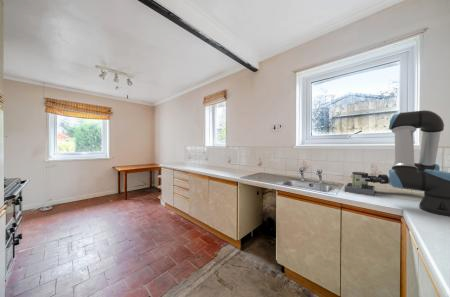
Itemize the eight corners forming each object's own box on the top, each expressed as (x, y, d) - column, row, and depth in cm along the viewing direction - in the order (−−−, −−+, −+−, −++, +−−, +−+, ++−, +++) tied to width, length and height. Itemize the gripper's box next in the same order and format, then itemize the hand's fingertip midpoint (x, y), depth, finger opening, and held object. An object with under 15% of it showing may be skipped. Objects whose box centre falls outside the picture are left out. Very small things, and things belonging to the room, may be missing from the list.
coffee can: (366, 189, 139) (366, 172, 138) (369, 192, 130) (369, 174, 130) (351, 187, 144) (351, 171, 144) (353, 190, 135) (353, 173, 135)
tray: (374, 190, 137) (374, 185, 137) (373, 195, 124) (373, 190, 124) (347, 186, 150) (347, 182, 150) (344, 191, 137) (344, 186, 136)
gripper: (398, 187, 120) (363, 186, 125) (375, 180, 145) (347, 179, 150) (398, 177, 120) (364, 176, 125) (375, 172, 144) (348, 171, 149)
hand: (355, 178), depth 137 cm, fingers open, 13 cm apart
